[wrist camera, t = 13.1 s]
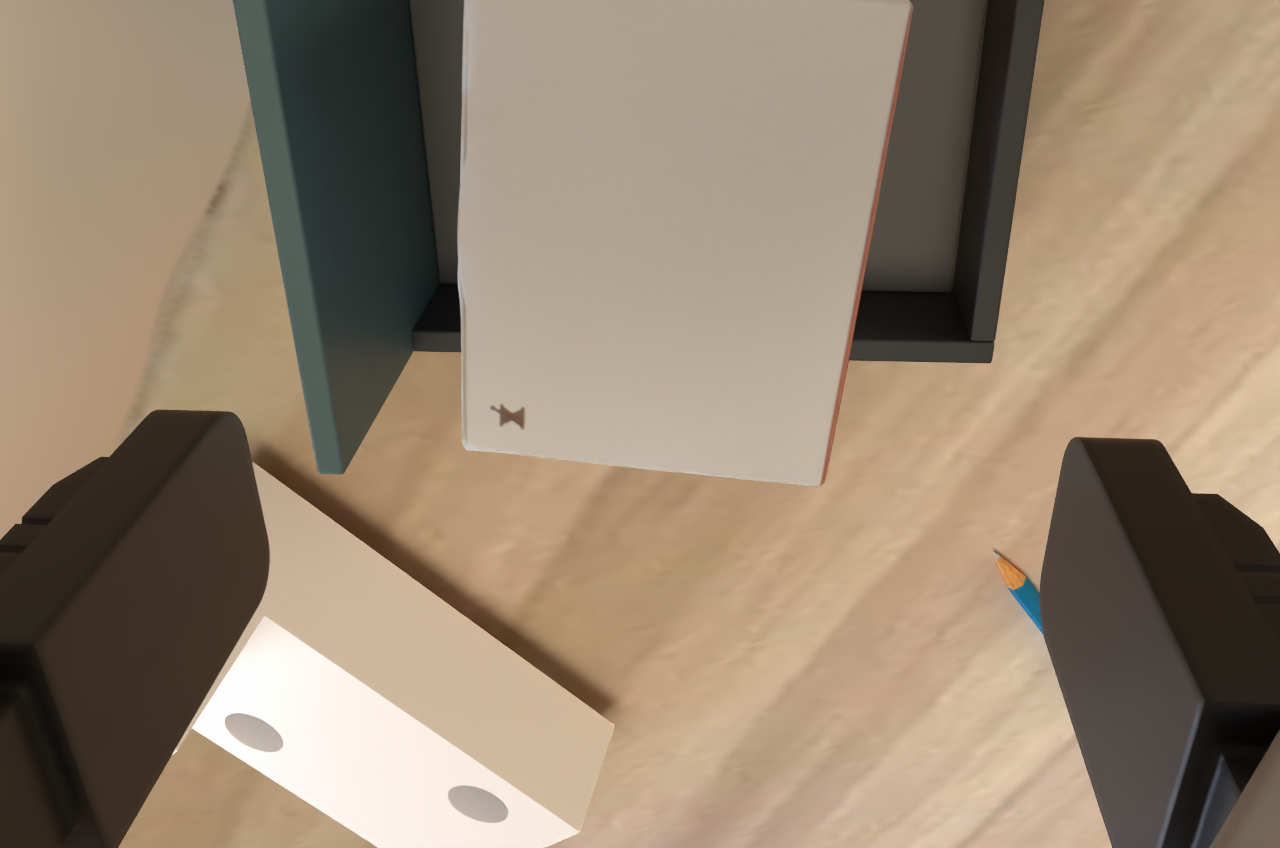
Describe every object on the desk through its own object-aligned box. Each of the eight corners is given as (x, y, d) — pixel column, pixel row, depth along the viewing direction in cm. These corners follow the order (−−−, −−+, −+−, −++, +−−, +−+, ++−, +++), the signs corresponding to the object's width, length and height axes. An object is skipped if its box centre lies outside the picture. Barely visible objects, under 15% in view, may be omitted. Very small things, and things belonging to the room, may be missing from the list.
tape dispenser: (150, 564, 49) (-15, 779, 41) (248, 458, 43) (75, 687, 35) (485, 791, 54) (392, 1020, 46) (615, 725, 48) (533, 976, 40)
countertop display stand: (990, -248, 31) (1179, -251, 17) (937, 225, 38) (1044, 496, 24) (429, -237, 32) (189, -232, 19) (471, 219, 39) (316, 474, 25)
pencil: (1188, 821, 50) (1193, 833, 49) (981, 550, 44) (984, 561, 43) (1206, 813, 50) (1212, 826, 49) (1000, 540, 44) (1004, 551, 43)
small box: (799, 230, 31) (826, 502, 20) (560, 205, 31) (450, 460, 20) (851, -105, 27) (923, -5, 16) (576, -131, 27) (450, -51, 16)
